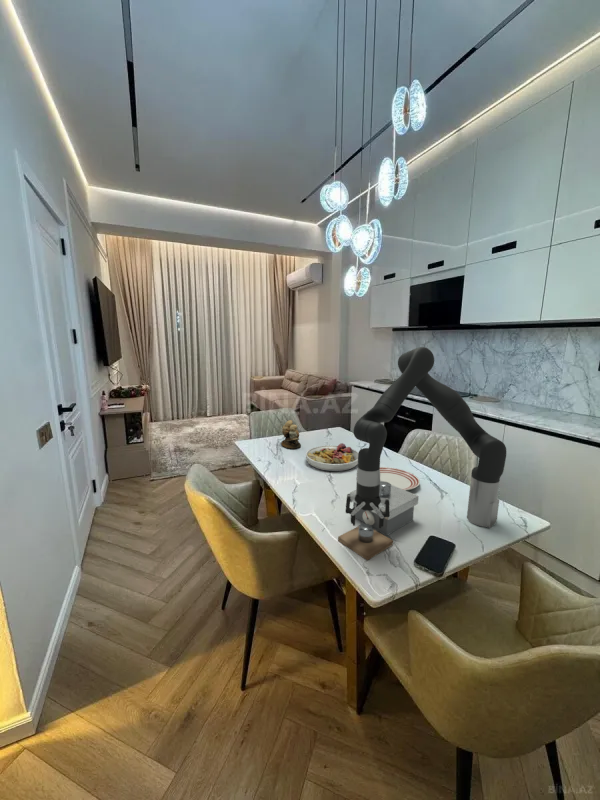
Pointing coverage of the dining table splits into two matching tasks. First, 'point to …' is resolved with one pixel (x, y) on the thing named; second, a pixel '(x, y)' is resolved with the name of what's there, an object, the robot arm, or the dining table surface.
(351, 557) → the dining table surface
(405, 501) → the pan
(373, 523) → the scale
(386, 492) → the cylinder
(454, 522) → the dining table surface
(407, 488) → the dinner plate
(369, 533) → the cylinder
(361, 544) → the walnut board
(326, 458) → the bowl
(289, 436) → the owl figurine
